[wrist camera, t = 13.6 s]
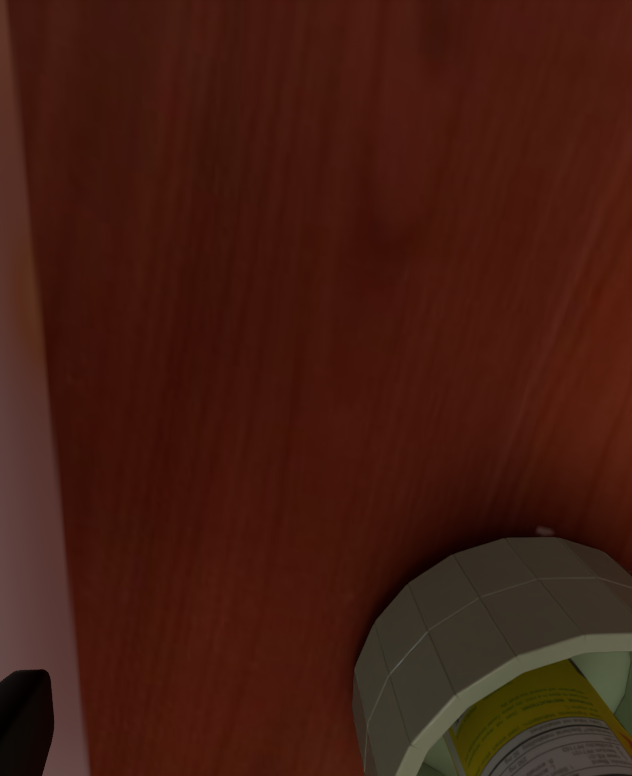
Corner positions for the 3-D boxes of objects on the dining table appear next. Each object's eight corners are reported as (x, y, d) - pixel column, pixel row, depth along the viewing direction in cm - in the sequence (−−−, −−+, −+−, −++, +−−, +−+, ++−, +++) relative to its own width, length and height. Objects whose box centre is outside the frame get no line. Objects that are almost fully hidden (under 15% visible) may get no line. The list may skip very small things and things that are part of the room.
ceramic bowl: (343, 806, 24) (370, 986, 18) (358, 530, 21) (396, 640, 15) (627, 788, 25) (738, 953, 19) (679, 526, 22) (827, 627, 16)
